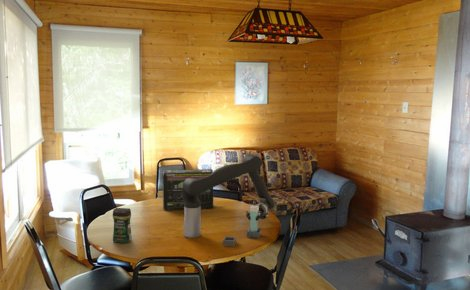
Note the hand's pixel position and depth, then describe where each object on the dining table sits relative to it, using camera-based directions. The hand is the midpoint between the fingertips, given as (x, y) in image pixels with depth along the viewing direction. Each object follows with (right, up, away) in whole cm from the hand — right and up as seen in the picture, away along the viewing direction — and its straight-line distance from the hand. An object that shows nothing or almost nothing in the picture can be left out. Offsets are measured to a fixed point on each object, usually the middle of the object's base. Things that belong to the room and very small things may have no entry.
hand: (252, 218), depth 236 cm
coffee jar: (-72, -11, -7) cm, 73 cm away
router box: (-43, -3, +60) cm, 74 cm away
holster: (-13, -12, -9) cm, 20 cm away
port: (+1, -11, +4) cm, 11 cm away
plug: (+1, -10, +4) cm, 10 cm away
